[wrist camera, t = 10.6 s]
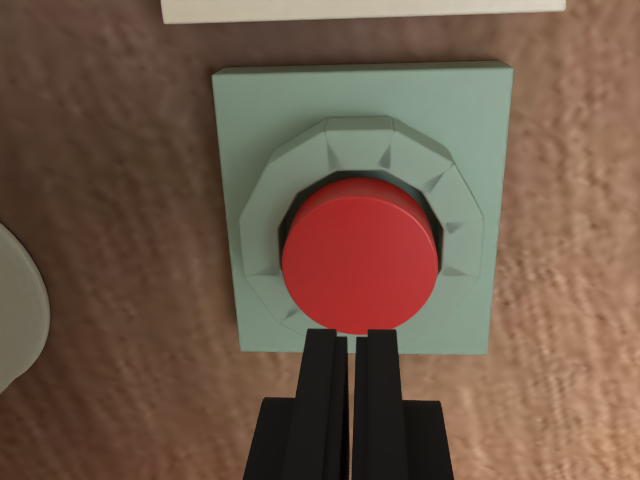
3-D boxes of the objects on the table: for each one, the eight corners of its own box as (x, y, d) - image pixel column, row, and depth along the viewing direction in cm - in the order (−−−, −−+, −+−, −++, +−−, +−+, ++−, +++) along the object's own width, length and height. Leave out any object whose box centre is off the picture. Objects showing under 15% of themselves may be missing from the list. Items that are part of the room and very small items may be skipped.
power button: (429, 307, 19) (434, 337, 17) (292, 306, 19) (285, 335, 18) (435, 175, 17) (441, 194, 15) (284, 176, 17) (276, 196, 16)
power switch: (479, 330, 23) (497, 388, 19) (248, 327, 23) (228, 382, 20) (502, 60, 19) (530, 75, 15) (223, 67, 19) (194, 83, 16)
